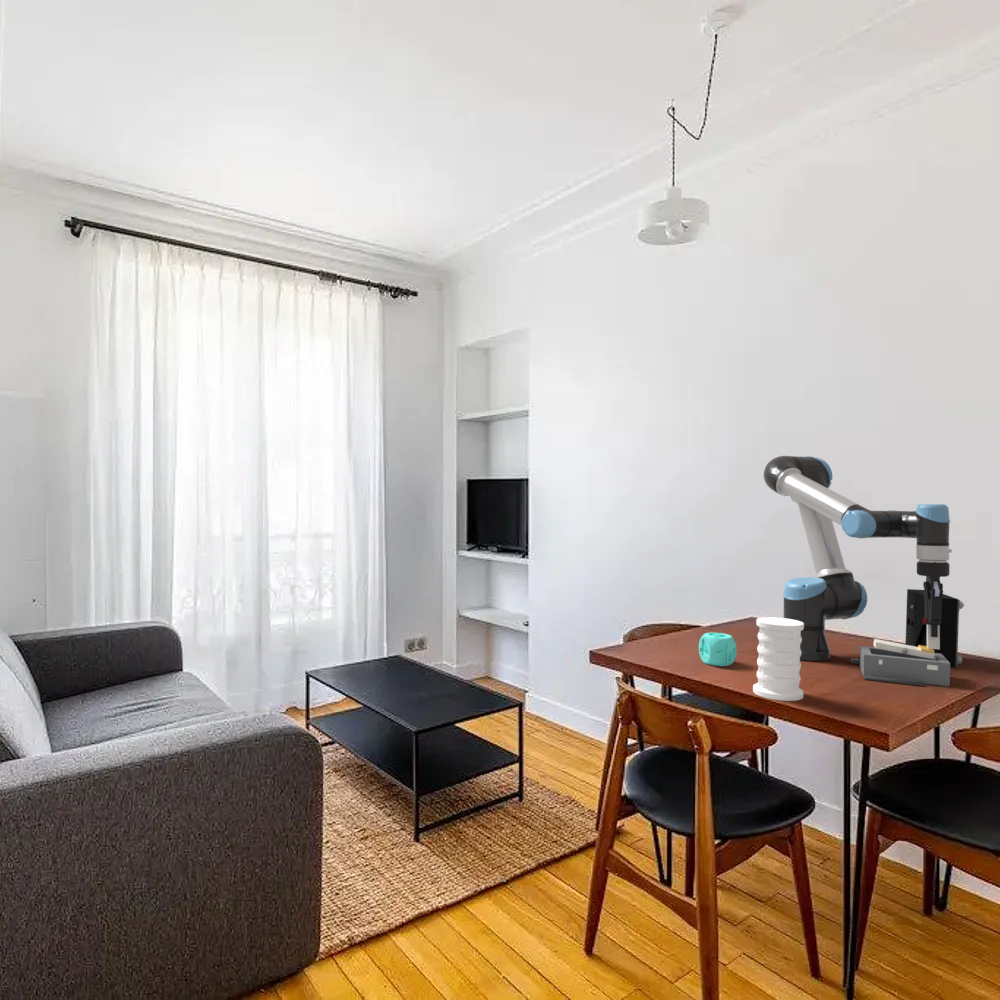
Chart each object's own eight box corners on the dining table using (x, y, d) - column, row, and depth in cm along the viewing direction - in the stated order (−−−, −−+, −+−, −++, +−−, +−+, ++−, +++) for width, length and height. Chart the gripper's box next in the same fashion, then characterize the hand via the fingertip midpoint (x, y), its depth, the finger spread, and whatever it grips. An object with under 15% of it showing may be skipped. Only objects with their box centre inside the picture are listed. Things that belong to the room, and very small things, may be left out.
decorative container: (767, 684, 179) (769, 615, 179) (811, 695, 170) (814, 622, 170) (744, 692, 171) (746, 620, 171) (789, 704, 163) (791, 628, 162)
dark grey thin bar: (864, 679, 185) (864, 676, 185) (864, 678, 186) (864, 675, 186) (925, 686, 180) (925, 683, 180) (924, 685, 180) (924, 682, 180)
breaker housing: (863, 676, 188) (864, 654, 188) (859, 666, 199) (860, 645, 199) (949, 686, 180) (950, 663, 180) (940, 675, 191) (941, 653, 191)
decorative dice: (710, 666, 196) (711, 638, 196) (698, 659, 204) (698, 632, 204) (736, 666, 197) (737, 638, 197) (723, 659, 205) (724, 632, 205)
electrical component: (964, 668, 200) (966, 599, 199) (925, 665, 202) (927, 597, 201) (938, 654, 217) (940, 590, 217) (902, 651, 219) (904, 589, 219)
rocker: (875, 648, 190) (876, 640, 189) (873, 643, 195) (874, 636, 195) (934, 659, 184) (935, 651, 184) (930, 654, 190) (931, 646, 190)
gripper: (954, 563, 179) (954, 654, 179) (944, 559, 191) (944, 644, 191) (920, 562, 182) (921, 652, 182) (913, 558, 194) (913, 642, 194)
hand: (933, 648), depth 187 cm, fingers closed, pressing on rocker
